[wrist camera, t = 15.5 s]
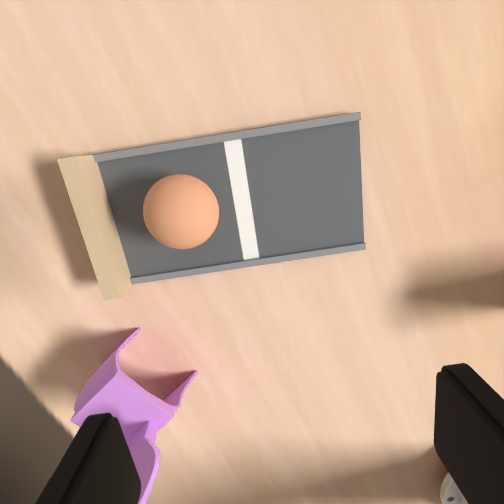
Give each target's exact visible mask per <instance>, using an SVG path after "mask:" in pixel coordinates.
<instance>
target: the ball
mask: <svg viewBox="0 0 504 504" xmlns="http://www.w3.org/2000/svg"><path fill="white" fill-rule="evenodd" d="M143 217H144V221H145V224H146V226H147V229H148V230H149V232H150V233H151V234H152V236H153V237H154V238H155V239H156V240H158V241H159V242H160V243H162V244H163V245H166V246H168V247H171V248H175V249H189V248H193V247H196V246H198V245H200V244H202V243H204V242H205V241H206V240H207V239H208V238H209V237H210V236H211V235H212V234H213V232H214V231H215V229H216V226H217V223H218V219H219V206H218V202H217V199H216V197H215V195H214V193H213V191H212V190H211V189H210V188H209V186H208V185H207V184H205V183H204V182H203V181H201V180H200V179H198V178H196V177H193V176H190V175H186V174H175V175H170V176H167V177H164V178H162V179H161V180H159V181H158V182H156V183H155V184H154V185H153V186H152V187H151V189H150V190H149V191H148V193H147V195H146V197H145V200H144V204H143Z"/></svg>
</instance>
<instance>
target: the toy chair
mask: <svg viewBox="0 0 504 504" xmlns="http://www.w3.org/2000/svg"><path fill="white" fill-rule="evenodd" d="M140 330H141V329H140V328H138V329H137V330H135V331H134V332H133V333H132V334H131V335H130V336H129V337H128V338H127V339H126V340H125V341H124V342H123V343H122V344H121V345H120V346H119V347H118V348H117V349H116V350H115V351H114V352H113V353H112V354H111V355H110V356H109V357H108V358H107V360H106V361H105V362H104V363H103V364H102V365H101V366H100V367H99V368H98V369H97V370H96V371H95V372H94V373H93V374H92V376H91V377H90V378H89V380H88V381H87V383H86V384H85V386H84V387H83V389H82V391H81V392H80V394H79V396H78V398H77V400H76V403H75V406H74V410H75V414H74V415H73V417H72V418H71V420H70V421H72V422H73V423H75V424H76V425H78V426H80V427H81V426H82V424H83V422H84V420H85V419H86V418H87V417H88V416H89V415H94V414H101V413H111V414H112V416H113V417H117V418H118V420H119V423H120V426H121V428H122V431H123V434H124V437H125V439H126V442H127V445H128V447H129V450H130V453H131V456H132V458H133V461H134V464H135V467H136V469H137V472H138V475H139V477H140V481H141V494H140V498H139V501H138V504H145V503H146V501H147V499H148V496H149V494H150V491H151V489H152V486H153V483H154V481H155V478H156V475H157V472H158V468H159V464H160V451H159V449H158V447H156V446H155V445H154V444H155V439H156V433H157V431H158V430H159V429H161V428H162V427H163V426H164V425H165V424H167V423H168V422H169V421H170V420H171V419H172V418H173V417H174V413H175V412H176V411H177V410H178V409H179V408H180V406H181V401H182V397H183V395H184V393H185V391H186V389H187V388H188V386H189V385H190V383H191V382H192V380H193V379H194V378H195V376H196V375H197V374H198V371H195V372H194V373H192V374H191V375H190V376H189V377H188V378H187V379H186V380H185V381H184V382H183V383H182V384H181V385H179V386H178V387H177V388H176V389H175V390H174V391H173V392H172V393H171V394H170V395H169V396H168V397H166V398H165V399H164V400H161V399H159V398H157V397H156V396H154V395H152V394H151V393H149V392H148V391H146V390H145V389H143V388H142V387H141V386H140V385H138V384H137V383H136V382H135V381H134V380H132V379H131V378H130V377H128V376H127V375H126V374H125V373H124V372H123V371H122V370H121V368H120V366H119V360H118V355H119V352H120V351H121V350H122V349H123V348H124V347H125V346H126V345H127V344H128V343H129V342H130V341H131V340H132V339H133V338H134V337H135V336H136V335H137V334H138V332H139V331H140Z"/></svg>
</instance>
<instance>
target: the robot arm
mask: <svg viewBox="0 0 504 504" xmlns="http://www.w3.org/2000/svg"><path fill="white" fill-rule="evenodd" d="M434 446H435V449H436V452H437V454H438V456H439V458H440V459H441V461H442V463H443V464H444V466H445V467H446V469H447V471H448V474H447V475H446V477H445V478H444V480H443V483H442V485H441V489H440V498H441V502H442V504H504V399H503V398H502V397H501V396H500V395H499V394H498V393H496V392H495V391H494V390H493V389H492V388H491V387H490V386H489V385H488V384H487V383H486V382H485V381H484V380H483V379H482V378H481V377H480V376H479V375H478V374H477V373H476V372H475V371H474V370H473V369H472V368H471V367H470V366H469V365H467V364H465V363H461V364H454V365H447V366H443V367H442V370H441V372H438V373H437V376H436V400H435V425H434ZM140 494H141V481H140V477H139V475H138V472H137V469H136V467H135V464H134V461H133V458H132V456H131V453H130V450H129V447H128V445H127V442H126V439H125V437H124V434H123V431H122V428H121V426H120V423H119V420H118V418H117V417H113V416H112V414H111V413H101V414H94V415H89V416H88V417H87V418H86V419H85V420H84V422H83V424H82V426H81V427H80V429H79V431H78V432H77V434H76V436H75V438H74V439H73V441H72V443H71V444H70V446H69V448H68V450H67V451H66V453H65V455H64V457H63V458H62V460H61V462H60V463H59V465H58V467H57V469H56V470H55V472H54V474H53V476H52V477H51V479H50V480H49V481H48V483H47V485H46V487H45V488H44V490H43V492H42V493H41V495H40V497H39V498H38V500H37V502H36V503H35V504H138V501H139V498H140Z"/></svg>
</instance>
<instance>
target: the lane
mask: <svg viewBox="0 0 504 504" xmlns="http://www.w3.org/2000/svg"><path fill="white" fill-rule="evenodd" d="M359 120H361V116H360V112H357V113H351V114H344V115H338V116H332V117H326V118H320V119H313V120H307V121H301V122H295V123H289V124H282V125H276V126H270V127H264V128H257V129H251V130H245V131H239V132H233V133H226V134H220V135H214V136H208V137H202V138H195V139H189V140H183V141H177V142H171V143H164V144H158V145H152V146H146V147H139V148H133V149H127V150H121V151H115V152H108V153H102V154H96V155H85V156H74V157H68V158H61V159H57V161H58V164H59V167H60V170H61V173H62V176H63V179H64V182H65V185H66V188H67V191H68V194H69V197H70V200H71V203H72V206H73V209H74V212H75V215H76V218H77V221H78V224H79V227H80V230H81V233H82V236H83V239H84V242H85V245H86V248H87V251H88V254H89V257H90V260H91V263H92V266H93V269H94V272H95V275H96V278H97V281H98V284H99V287H100V290H101V293H102V296H103V299H104V300H108V299H114V298H121V297H122V295H123V294H124V293H125V292H126V290H127V289H128V288H129V287H130V285H131V284H137V283H144V282H150V281H157V280H164V279H171V278H177V277H184V276H191V275H197V274H204V273H211V272H217V271H224V270H231V269H237V268H244V267H251V266H257V265H264V264H271V263H278V262H284V261H291V260H298V259H304V258H311V257H318V256H324V255H331V254H338V253H344V252H351V251H358V250H365V249H366V243H365V242H364V230H363V206H362V181H361V157H360V132H359ZM175 174H186V175H190V176H193V177H196V178H198V179H200V180H201V181H203V182H204V183H205V184H207V185H208V186H209V188H210V189H211V190H212V191H213V193H214V195H215V197H216V199H217V202H218V206H219V219H218V223H217V226H216V229H215V231H214V232H213V234H212V235H211V236H210V237H209V238H208V239H207V240H206V241H205V242H204V243H202V244H200V245H198V246H196V247H193V248H189V249H175V248H171V247H168V246H166V245H163V244H162V243H160V242H159V241H158V240H156V239H155V238H154V237H153V236H152V234H151V233H150V232H149V230H148V229H147V226H146V224H145V221H144V217H143V204H144V200H145V197H146V195H147V193H148V191H149V190H150V189H151V187H152V186H153V185H154V184H155V183H156V182H158V181H159V180H161V179H162V178H164V177H167V176H170V175H175Z"/></svg>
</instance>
